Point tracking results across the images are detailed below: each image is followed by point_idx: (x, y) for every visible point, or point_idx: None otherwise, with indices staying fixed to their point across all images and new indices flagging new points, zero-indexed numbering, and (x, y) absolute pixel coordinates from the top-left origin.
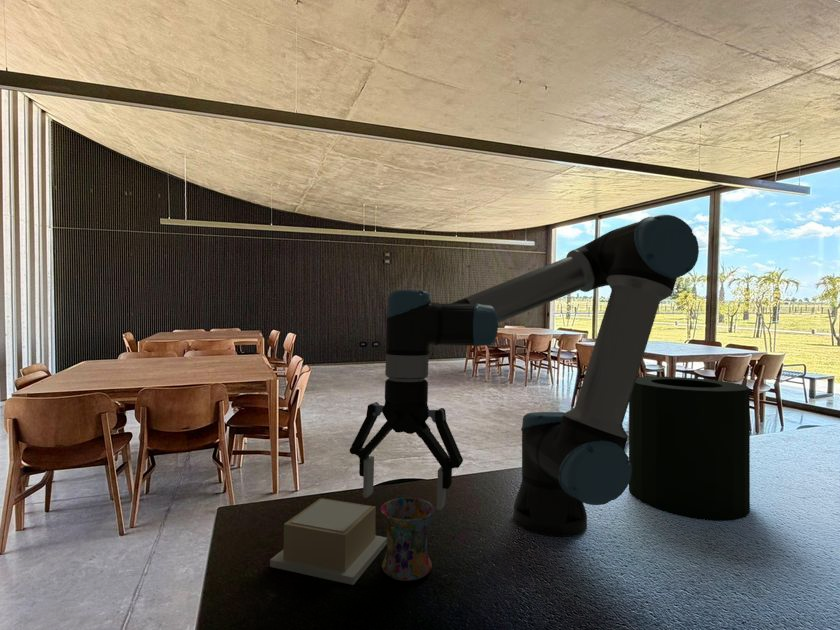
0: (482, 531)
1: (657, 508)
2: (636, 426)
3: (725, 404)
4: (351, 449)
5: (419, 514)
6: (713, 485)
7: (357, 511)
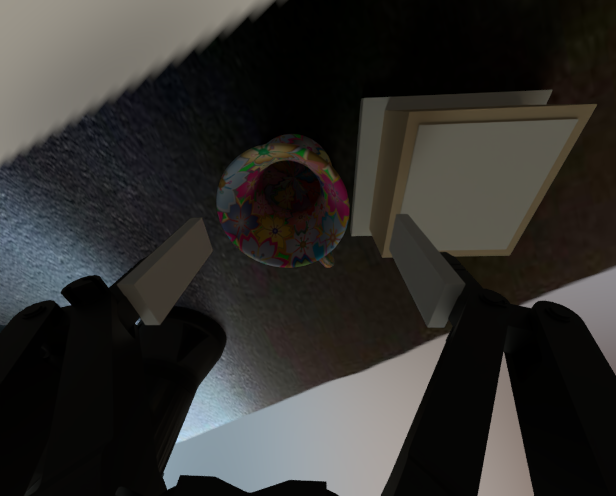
0: (242, 294)
1: None
2: None
3: None
4: (571, 319)
5: (276, 239)
6: None
7: None
